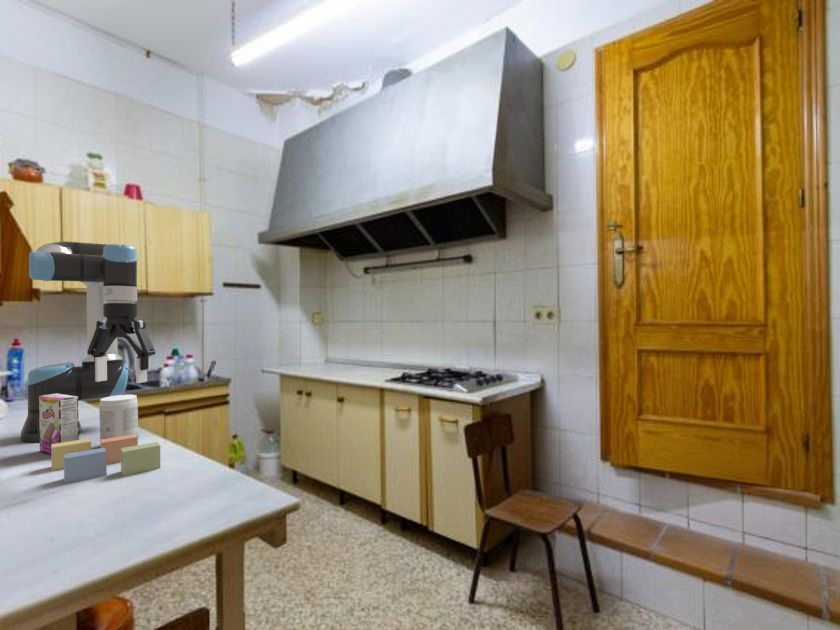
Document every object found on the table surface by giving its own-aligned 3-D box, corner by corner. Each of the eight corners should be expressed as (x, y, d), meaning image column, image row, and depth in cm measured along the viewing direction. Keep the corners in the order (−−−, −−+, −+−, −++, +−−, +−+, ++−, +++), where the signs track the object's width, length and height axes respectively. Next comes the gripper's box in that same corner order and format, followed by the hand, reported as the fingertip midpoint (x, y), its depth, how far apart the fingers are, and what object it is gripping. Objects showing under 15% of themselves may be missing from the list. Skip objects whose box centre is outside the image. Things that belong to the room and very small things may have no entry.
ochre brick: (52, 471, 110) (51, 447, 110) (51, 467, 113) (51, 444, 113) (91, 463, 116) (91, 441, 116) (89, 460, 119) (89, 438, 119)
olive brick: (123, 476, 107) (123, 451, 107) (120, 471, 110) (120, 448, 110) (160, 468, 112) (160, 445, 112) (157, 464, 115) (156, 441, 115)
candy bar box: (38, 452, 125) (37, 395, 125) (58, 447, 130) (58, 392, 130) (59, 457, 121) (59, 398, 121) (79, 452, 125) (79, 395, 125)
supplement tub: (136, 439, 138) (136, 393, 138) (140, 446, 131) (140, 397, 131) (98, 445, 132) (98, 396, 132) (100, 452, 125) (100, 401, 125)
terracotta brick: (102, 465, 115) (101, 442, 114) (100, 461, 117) (100, 439, 117) (137, 458, 120) (137, 437, 120) (135, 455, 123) (134, 434, 123)
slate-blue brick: (64, 484, 102) (64, 458, 102) (64, 479, 105) (63, 454, 105) (106, 475, 107) (106, 451, 107) (104, 471, 110) (104, 447, 110)
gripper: (70, 303, 116) (71, 382, 116) (146, 301, 110) (146, 385, 110) (97, 303, 123) (98, 378, 123) (170, 302, 117) (170, 380, 117)
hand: (121, 381), depth 116 cm, fingers open, 13 cm apart
